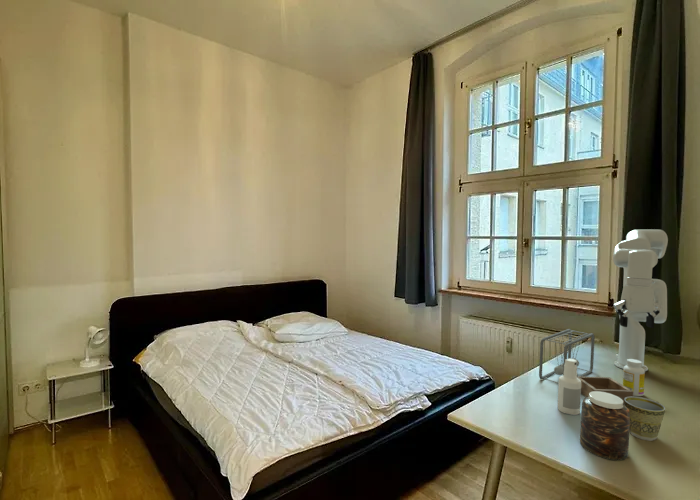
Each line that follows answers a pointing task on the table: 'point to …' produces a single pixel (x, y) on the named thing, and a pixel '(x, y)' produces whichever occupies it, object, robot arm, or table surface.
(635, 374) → the supplement bottle
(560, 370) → the newton's cradle
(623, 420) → the jar
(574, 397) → the spray bottle
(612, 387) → the box
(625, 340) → the robot arm
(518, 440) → the table surface
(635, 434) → the ceramic cup
